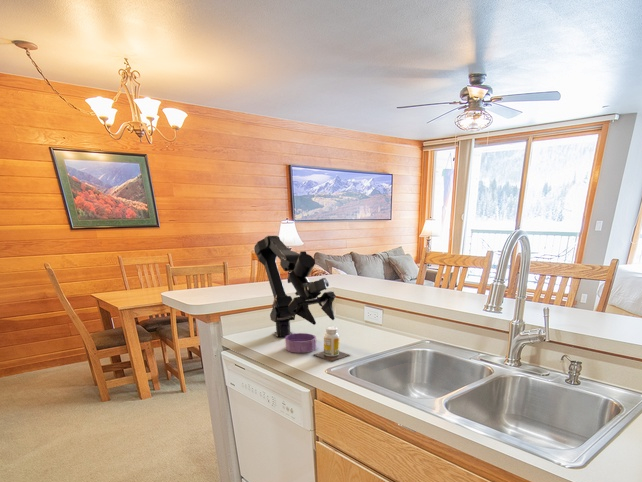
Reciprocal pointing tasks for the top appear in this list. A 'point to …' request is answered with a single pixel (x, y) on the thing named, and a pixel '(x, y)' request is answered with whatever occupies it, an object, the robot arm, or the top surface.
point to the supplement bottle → (331, 342)
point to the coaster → (339, 356)
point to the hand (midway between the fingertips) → (324, 321)
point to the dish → (300, 342)
